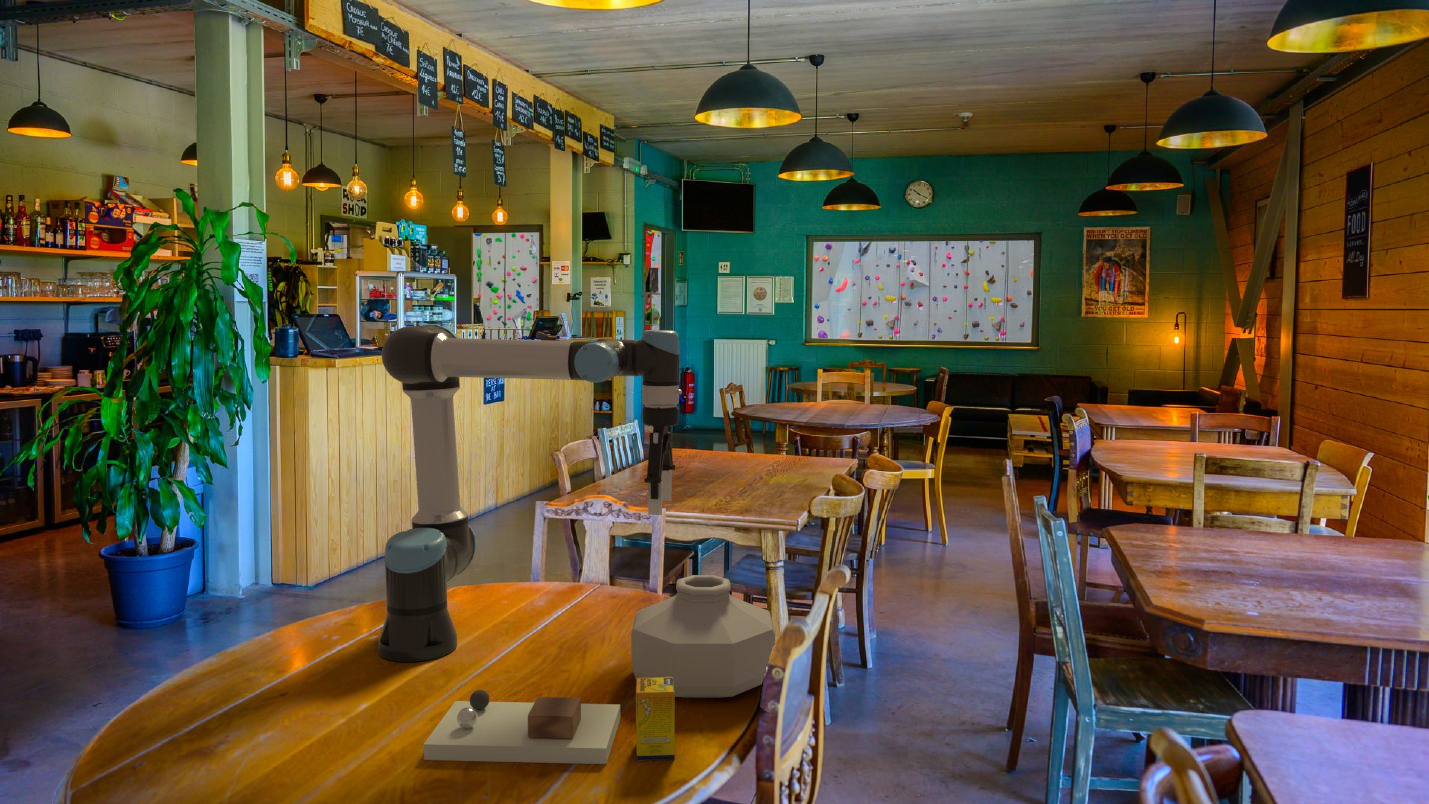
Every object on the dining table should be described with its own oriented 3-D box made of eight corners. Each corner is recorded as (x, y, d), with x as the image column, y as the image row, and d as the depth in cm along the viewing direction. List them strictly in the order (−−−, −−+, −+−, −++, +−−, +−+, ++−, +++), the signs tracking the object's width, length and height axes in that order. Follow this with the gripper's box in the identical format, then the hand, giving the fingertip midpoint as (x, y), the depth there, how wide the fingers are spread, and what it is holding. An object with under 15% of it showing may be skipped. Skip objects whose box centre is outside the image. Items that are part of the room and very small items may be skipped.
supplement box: (635, 743, 153) (635, 677, 152) (673, 742, 153) (673, 676, 152) (635, 761, 147) (635, 692, 146) (675, 760, 148) (675, 691, 146)
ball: (454, 731, 151) (453, 712, 151) (460, 723, 154) (460, 703, 154) (474, 732, 151) (474, 712, 151) (480, 723, 154) (479, 704, 154)
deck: (423, 759, 147) (423, 744, 147) (455, 715, 163) (455, 701, 163) (606, 764, 146) (606, 748, 146) (620, 718, 162) (620, 704, 162)
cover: (528, 737, 149) (527, 715, 148) (538, 717, 156) (537, 697, 155) (573, 738, 148) (572, 716, 148) (580, 718, 155) (580, 697, 155)
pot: (608, 663, 187) (608, 569, 185) (739, 643, 198) (740, 555, 196) (657, 720, 162) (657, 612, 160) (805, 694, 173) (806, 593, 171)
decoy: (467, 713, 158) (466, 694, 158) (473, 704, 161) (472, 686, 161) (486, 713, 158) (486, 694, 158) (491, 705, 161) (491, 686, 161)
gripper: (670, 412, 185) (669, 521, 187) (686, 399, 210) (685, 495, 212) (631, 412, 185) (631, 520, 188) (652, 399, 210) (651, 494, 212)
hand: (660, 507), depth 200 cm, fingers open, 13 cm apart
